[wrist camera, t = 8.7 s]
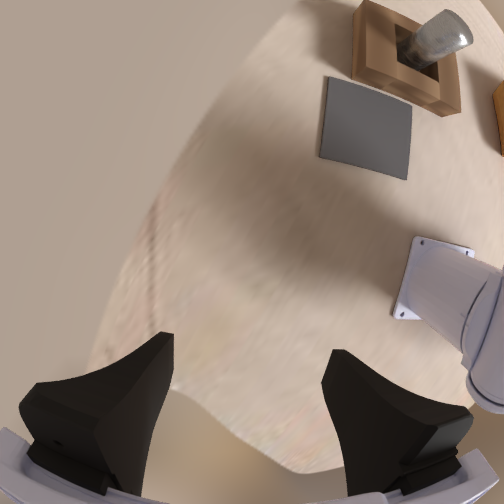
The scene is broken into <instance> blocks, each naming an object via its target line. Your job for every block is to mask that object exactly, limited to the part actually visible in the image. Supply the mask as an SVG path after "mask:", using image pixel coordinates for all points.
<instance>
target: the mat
mask: <svg viewBox="0 0 504 504" xmlns="http://www.w3.org/2000/svg"><path fill="white" fill-rule="evenodd" d="M411 126H412V106H411V105H409V104H407V103H404V102H402V101H400V100H397V99H395V98H392V97H390V96H387V95H385V94H382V93H380V92H377V91H374V90H371V89H368V88H366V87H363V86H360V85H357V84H354V83H350V82H347V81H344V80H341V79H337V78H334V77H330V76H329V78H328V87H327V97H326V107H325V116H324V124H323V133H322V141H321V148H320V156H319V157H320V158H325V159H329V160H334V161H338V162H342V163H346V164H350V165H354V166H358V167H362V168H366V169H369V170H373V171H376V172H380V173H383V174H387V175H390V176H393V177H397V178H400V179H403V180H407V174H408V165H409V155H410V143H411Z"/></svg>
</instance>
